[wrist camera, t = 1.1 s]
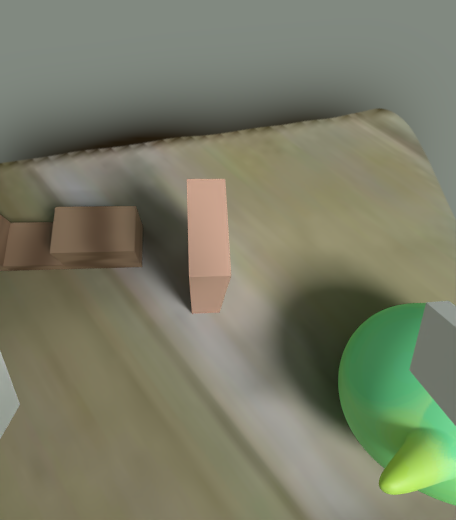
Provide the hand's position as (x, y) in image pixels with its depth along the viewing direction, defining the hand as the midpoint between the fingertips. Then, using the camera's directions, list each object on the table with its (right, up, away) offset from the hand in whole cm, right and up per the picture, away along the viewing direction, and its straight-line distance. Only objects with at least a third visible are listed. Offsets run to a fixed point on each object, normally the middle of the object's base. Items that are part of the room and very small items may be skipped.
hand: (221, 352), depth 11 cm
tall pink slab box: (-2, +1, +28) cm, 28 cm away
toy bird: (+18, -12, +26) cm, 34 cm away
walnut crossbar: (-21, +4, +28) cm, 35 cm away
